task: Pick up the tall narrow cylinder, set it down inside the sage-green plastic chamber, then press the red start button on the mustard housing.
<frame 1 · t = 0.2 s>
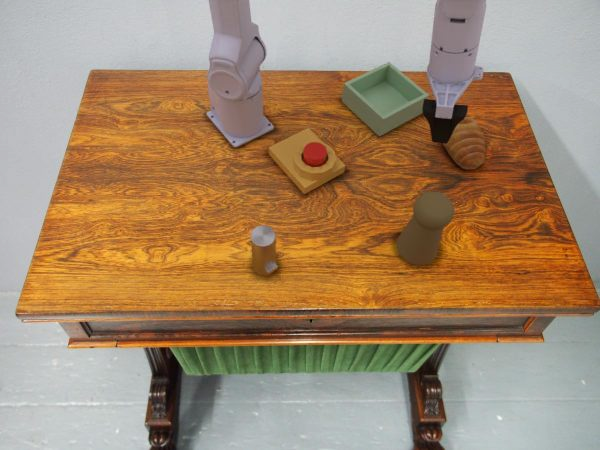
hand: (443, 122, 72), 11 cm above the table, tool pointing down, fingers open, 7 cm apart
tall narrow cylinder: (264, 265, 70), on the table
olive brown pawn: (416, 247, 73), on the table
start button: (314, 154, 76), point 4 cm above the table, slide at 0.1 cm
chamber: (382, 107, 88), on the table
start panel: (306, 163, 80), on the table
pastry: (462, 148, 84), on the table
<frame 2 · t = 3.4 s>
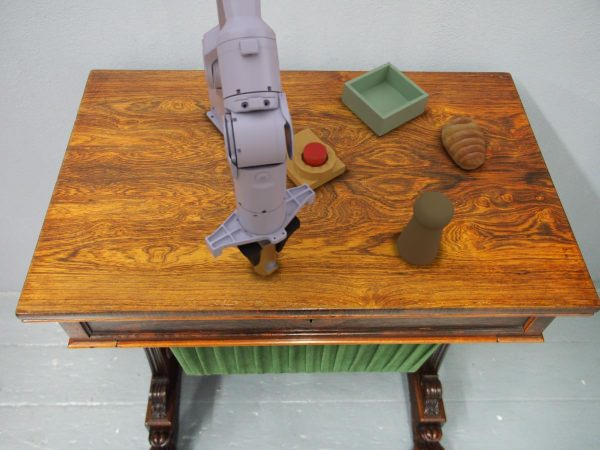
hand: (263, 253, 67), 3 cm above the table, tool pointing down, fingers closed on tall narrow cylinder, 3 cm apart
tall narrow cylinder: (264, 265, 70), on the table, touching gripper
everything else where it was.
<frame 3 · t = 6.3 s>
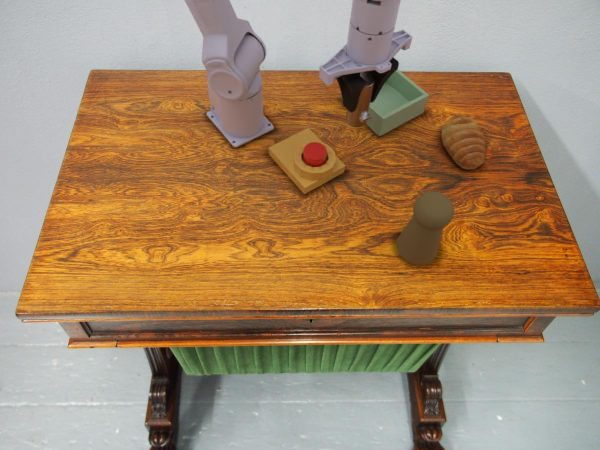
hand: (358, 103, 74), 10 cm above the table, tool pointing down, fingers closed on tall narrow cylinder, 3 cm apart
tall narrow cylinder: (356, 120, 76), point 7 cm above the table, touching gripper
everything else where it was.
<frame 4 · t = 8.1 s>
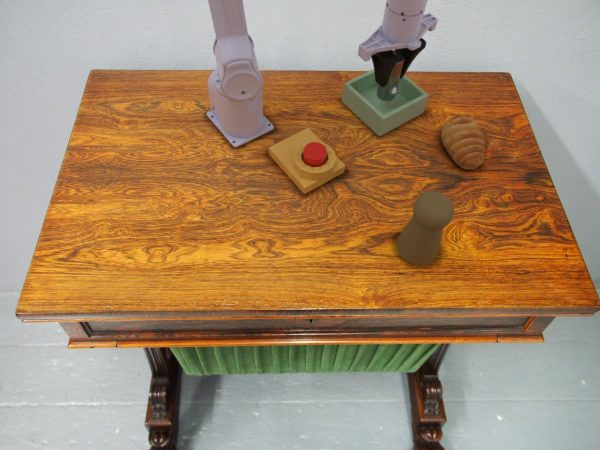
hand: (388, 79, 83), 6 cm above the table, tool pointing down, fingers closed on tall narrow cylinder, 3 cm apart
tall narrow cylinder: (385, 95, 86), point 3 cm above the table, touching gripper
everything else where it was.
when the fingers open (4 cm above the table, at t = 9.1 s): tall narrow cylinder stays where it is, resting on chamber.
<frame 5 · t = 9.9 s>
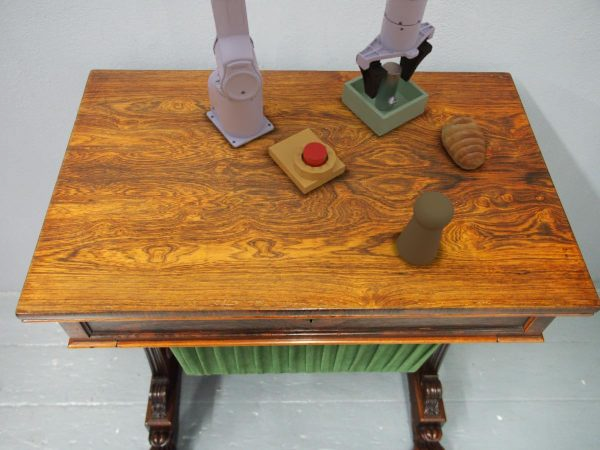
hand: (386, 86, 84), 5 cm above the table, tool pointing down, fingers open, 7 cm apart
tall narrow cylinder: (383, 104, 88), point 1 cm above the table, touching chamber
everything else where it was.
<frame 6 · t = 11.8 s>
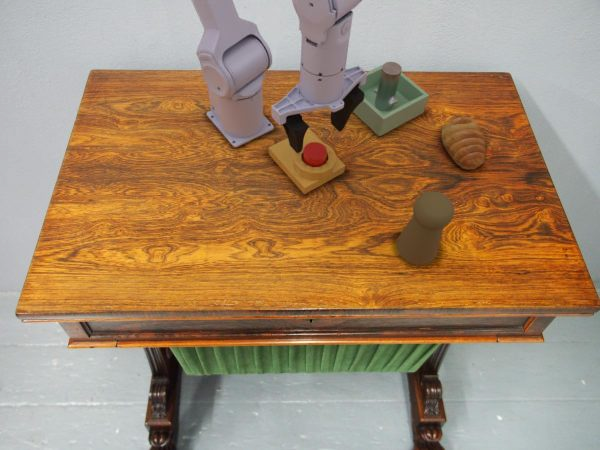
hand: (316, 137, 73), 8 cm above the table, tool pointing down, fingers open, 7 cm apart
nothing on the table moved.
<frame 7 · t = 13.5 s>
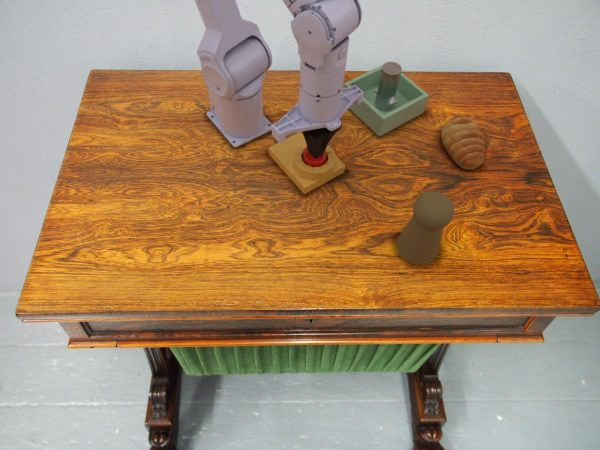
hand: (315, 153, 76), 4 cm above the table, tool pointing down, fingers closed, pressing on start button
start button: (314, 156, 77), point 3 cm above the table, slide at -0.4 cm, touching gripper
everything else where it was.
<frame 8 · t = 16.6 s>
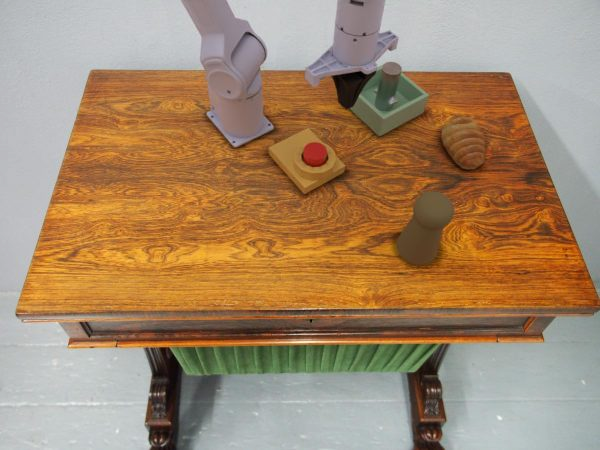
hand: (345, 104, 73), 10 cm above the table, tool pointing down, fingers closed
start button: (314, 154, 76), point 4 cm above the table, slide at 0.1 cm
everything else where it was.
at the end: tall narrow cylinder 0.1 cm off-centre in the chamber, point 0.6 cm above the chamber's base; start button pushed in 1.2 cm at the most during the clip, back to where it started at the end; start button slide at 0.1 cm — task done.
